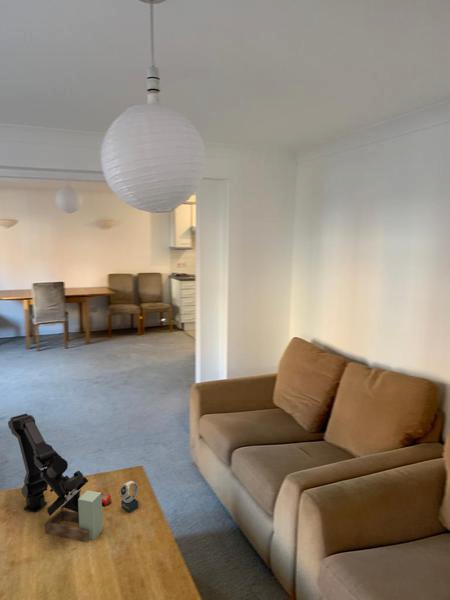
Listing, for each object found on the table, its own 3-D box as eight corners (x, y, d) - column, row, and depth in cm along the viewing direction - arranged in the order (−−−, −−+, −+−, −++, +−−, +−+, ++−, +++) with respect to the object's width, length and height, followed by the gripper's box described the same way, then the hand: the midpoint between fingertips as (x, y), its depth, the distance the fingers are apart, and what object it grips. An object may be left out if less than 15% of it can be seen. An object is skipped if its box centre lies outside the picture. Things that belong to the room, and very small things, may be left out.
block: (79, 536, 159) (78, 499, 157) (88, 526, 165) (87, 490, 163) (93, 539, 158) (92, 501, 156) (102, 529, 163) (101, 492, 161)
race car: (113, 500, 182) (113, 491, 182) (107, 508, 177) (107, 499, 176) (85, 496, 185) (85, 487, 185) (78, 503, 180) (78, 494, 179)
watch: (117, 509, 176) (116, 484, 174) (133, 500, 182) (132, 476, 180) (125, 515, 172) (125, 489, 171) (141, 506, 178) (141, 481, 177)
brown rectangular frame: (45, 533, 161) (44, 523, 160) (61, 517, 171) (61, 507, 170) (87, 542, 156) (86, 532, 156) (101, 525, 166) (101, 515, 165)
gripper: (52, 482, 151) (80, 516, 150) (83, 457, 169) (108, 487, 168) (34, 499, 155) (62, 532, 153) (67, 472, 172) (92, 502, 171)
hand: (82, 512), depth 161 cm, fingers closed, pressing on block
